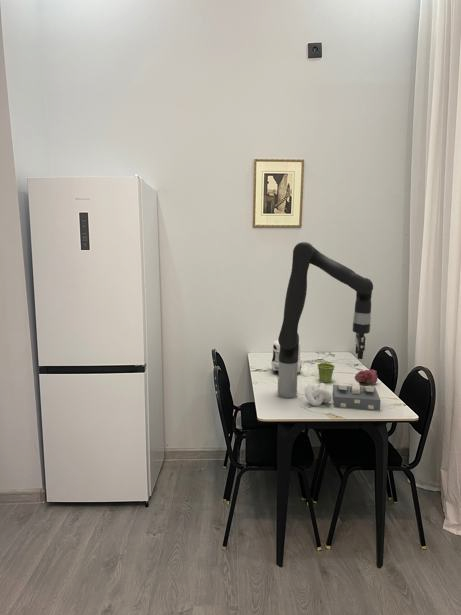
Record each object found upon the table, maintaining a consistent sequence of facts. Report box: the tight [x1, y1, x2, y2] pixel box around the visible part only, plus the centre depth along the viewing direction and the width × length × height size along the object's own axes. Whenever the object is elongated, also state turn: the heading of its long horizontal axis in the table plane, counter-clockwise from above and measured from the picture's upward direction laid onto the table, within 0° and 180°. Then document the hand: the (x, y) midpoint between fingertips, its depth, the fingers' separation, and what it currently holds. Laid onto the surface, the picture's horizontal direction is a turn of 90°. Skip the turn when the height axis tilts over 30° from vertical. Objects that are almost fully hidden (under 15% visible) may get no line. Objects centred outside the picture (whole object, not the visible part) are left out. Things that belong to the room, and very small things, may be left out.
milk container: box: [270, 339, 302, 374], centre depth 232 cm, size 17×17×18 cm
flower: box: [354, 369, 378, 386], centre depth 213 cm, size 11×10×10 cm
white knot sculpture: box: [304, 382, 332, 407], centre depth 188 cm, size 11×12×9 cm
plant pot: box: [316, 362, 336, 384], centre depth 218 cm, size 9×9×9 cm
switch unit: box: [332, 384, 382, 411], centre depth 189 cm, size 20×16×7 cm
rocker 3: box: [363, 385, 374, 392], centre depth 188 cm, size 3×7×2 cm, turn 168°
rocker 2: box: [350, 381, 360, 394], centre depth 189 cm, size 3×7×2 cm, turn 168°
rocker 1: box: [337, 384, 348, 390], centre depth 190 cm, size 3×7×2 cm, turn 168°
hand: (358, 356), depth 186 cm, fingers open, 8 cm apart
